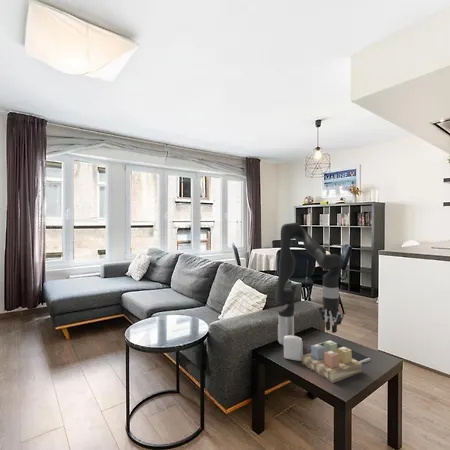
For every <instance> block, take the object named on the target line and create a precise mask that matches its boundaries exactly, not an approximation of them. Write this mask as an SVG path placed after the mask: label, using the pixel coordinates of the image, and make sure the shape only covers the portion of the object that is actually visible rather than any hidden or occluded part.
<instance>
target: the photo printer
mask: <svg viewBox="0 0 450 450" xmlns="http://www.w3.org/2000/svg"><path fill="white" fill-rule="evenodd" d="M303 344H304V343H303V339H302V338H301V337H300V336H297V335H294V336H292V335H288V336H285V337H284V345H283V358H284V359H287V360H292V361H298V362H302V356H303V355H304V346H303Z"/></svg>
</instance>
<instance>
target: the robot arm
mask: <svg viewBox="0 0 450 450" xmlns="http://www.w3.org/2000/svg"><path fill="white" fill-rule="evenodd" d="M296 239H298V240H300V241H302V243H303V246H304V249H305V251H306V252H307V253H308V254H309V255H310V256H312V257H313V258H314V260H315V261H316V263H317V265H318V266H319V267H320V268H321V269H323V270H328V272H326V273H325V274H323V276H322V307H321V306H320V307H318V312H319V313H320V314H319V315H320V316H321V320H322V321H324V324H325V330H326V331H330V330H331V333H333V334H336V333H337V331H338V326H339V325H341V324H342V321H343V319H344V316H345V314H344V313H341V312H340V309H339V306H340V291H339V290H340V289H339V278H340V277H339V276H340V273H341V269H342V258H341V257H340V255H339V254H335V253H331V254H327V250H326V248H325V247H324V246H322V245H321V244H320V243H319V242H317V241H316V240H315V239H314V238H313V237H312V236H311V235H310V234H309V232H307V231H306V230H305V228H304V227H303V226H302V225H301V224H300V223H298V222H291V223H289V222H288V223H284V224H282V226H281V228H280V253H279V260H278V261H279V263H278V277H277V284H276V289H275V302H276V303H277V304H278V305H284V306H283V307H280V308H279V309H278V311H277V313H278V325H277V341H278V343H279V344H280V345H282V346H284V337H285V336H288V335H292V336H295V319H294V318H295V317H294V316H295V315H294V313H295V291H294V289H293V288H290V287H289V288H288V287H286V288H285V286H286V284H287V283H288V281H289V280H290V278H291V277H292V276H293V275H294V272H295V269H296V258H295V255H294V254H293V252H292V250H291V240H296Z"/></svg>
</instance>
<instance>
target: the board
mask: <svg viewBox="0 0 450 450" xmlns="http://www.w3.org/2000/svg"><path fill="white" fill-rule="evenodd" d="M337 354H338V351H337ZM301 363H302V365H303V366H304V365H305V367H307V368H308V369H309V368H310V369H309V370H311V371H312V370H313V372H314V373H316V374H317V373H318V374H317V375H319V376H320V375H321V377H322V378H324V379H325V380H327V381H328V382H330V383H332V384H334V383H337V382H339V381H342V380H344V379H348V378H349V377H353V376H355V375H358V374H360V373H362V372H363V367H362V366H363V363H361V362H359V361H357V360H355V359H353V358H352V362H351V363H348V364H344V363H342V362H340V361H339V367H336V368H333V369H331V368H329V367H328V366H326V365H325V361H324V359H322V360H319V361H317V360H315V359H314V358H312V357H311V352H310V353H306V354H303V356H302V361H301Z"/></svg>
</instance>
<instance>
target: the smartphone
mask: <svg viewBox="0 0 450 450" xmlns="http://www.w3.org/2000/svg"><path fill="white" fill-rule="evenodd" d="M332 341H333V342H335V343H337V348H341V347H346V345H345V346H344V345H342V344H340V343H338V342H336V341H334V340H332ZM324 342H325V341H323V342H320V343H318V344H319V345H321V346H323V347H324ZM346 348H348V347H346ZM348 349H350V350H352V358H353V359H355V360H357V361H359V362H361V363H362V364H365V363H368V362H371V358H370V357H369V356H366V355H365V354H362V353H360V352H357V351H355V350H353V349H351V348H348ZM337 351H338V350H337Z"/></svg>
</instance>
